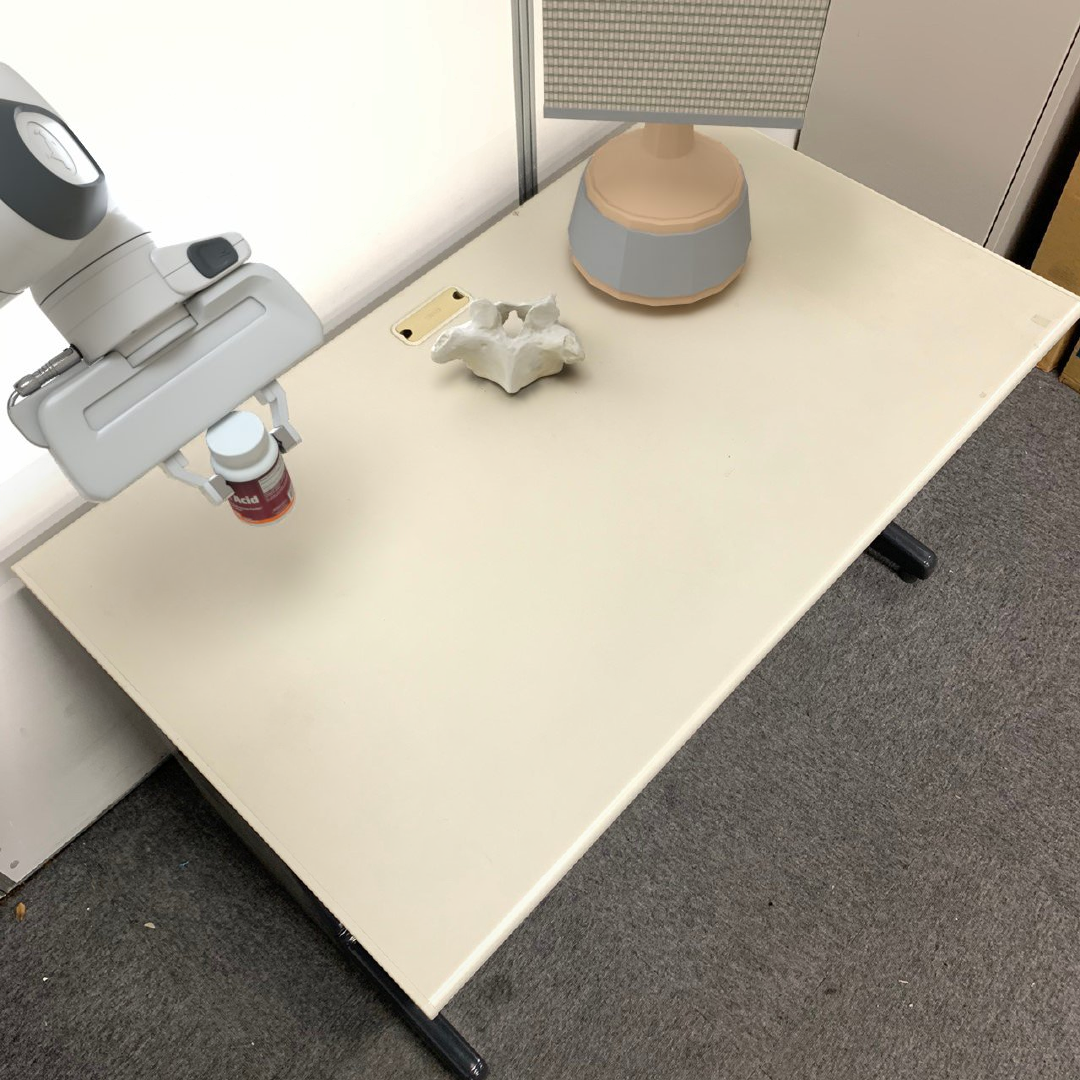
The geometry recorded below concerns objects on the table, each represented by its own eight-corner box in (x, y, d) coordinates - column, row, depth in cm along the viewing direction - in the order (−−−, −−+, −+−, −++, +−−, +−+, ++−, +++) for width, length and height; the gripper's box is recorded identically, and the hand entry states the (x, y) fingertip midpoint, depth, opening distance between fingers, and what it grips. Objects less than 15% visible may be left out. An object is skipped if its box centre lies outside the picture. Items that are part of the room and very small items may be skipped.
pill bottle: (220, 514, 75) (184, 444, 68) (259, 469, 77) (228, 396, 70) (272, 538, 73) (241, 469, 66) (309, 491, 76) (283, 420, 68)
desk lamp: (758, 205, 110) (831, -176, 80) (760, 327, 100) (846, -56, 69) (563, 195, 112) (562, -181, 82) (546, 315, 102) (537, -66, 71)
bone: (580, 392, 97) (590, 342, 90) (440, 416, 95) (438, 367, 88) (558, 320, 101) (565, 266, 94) (422, 341, 99) (419, 288, 91)
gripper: (-9, 391, 60) (147, 568, 64) (257, 218, 68) (379, 386, 72) (-12, 404, 65) (131, 566, 69) (234, 242, 73) (349, 397, 78)
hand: (259, 473), depth 71 cm, fingers closed on pill bottle, 5 cm apart
